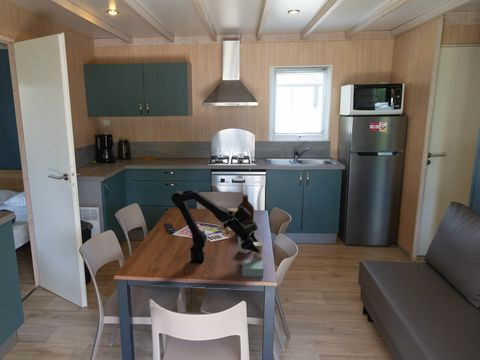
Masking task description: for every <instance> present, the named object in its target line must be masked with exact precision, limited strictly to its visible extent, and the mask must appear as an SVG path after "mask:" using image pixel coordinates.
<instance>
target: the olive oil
mask: <svg viewBox="0 0 480 360" xmlns="http://www.w3.org/2000/svg"><path fill="white" fill-rule="evenodd" d="M241 206H242V207H244V208H246V209H247V210H248V211H249V212H250V213H251V216H249V217H248V218H247V219H246V220H245V221H244V222H239V221H238V220H237V221H238V222H239V223H241V224H242V225H245V226H247V225H248V224H249V221H251V220H252V221H253V222H254V214H255V210H254V206H253V205H252V203H251V202H250V201H249V196H248V194H243V195H242V201H241V203H239V204H238V206H237V208H236V209H237V210H238V209H239V208H240V207H241ZM237 210H236V211H237Z"/></svg>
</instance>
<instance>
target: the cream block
mask: <svg viewBox="0 0 480 360" xmlns="http://www.w3.org/2000/svg"><path fill="white" fill-rule="evenodd" d="M253 243H254V245H255V246H256V247H257V249H258V250H259V253H257V252H254V251H252V260H263V257H264V255H263V253H264V252H263V251H264V250H263V249H264V248H263V246H264V245H263V244H264V242H263V241H258V242H253ZM263 261H264V260H263Z"/></svg>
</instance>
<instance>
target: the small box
mask: <svg viewBox="0 0 480 360" xmlns="http://www.w3.org/2000/svg"><path fill="white" fill-rule="evenodd" d="M241 242H242V241H241V239H240V238H239V237H238V236H237V245H238V246H237V251H238V252H239V253H242V254H248V253H250V252H252V251H251V250H247V249H246V250H245V249H242V248H241Z"/></svg>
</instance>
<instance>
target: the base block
mask: <svg viewBox="0 0 480 360" xmlns="http://www.w3.org/2000/svg"><path fill="white" fill-rule="evenodd" d="M242 261H243V262H242V266H241V275H242V277H255V278H256V277H259V278H260V277H261V278H262V277H264V260H253V259H243V260H242Z"/></svg>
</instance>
